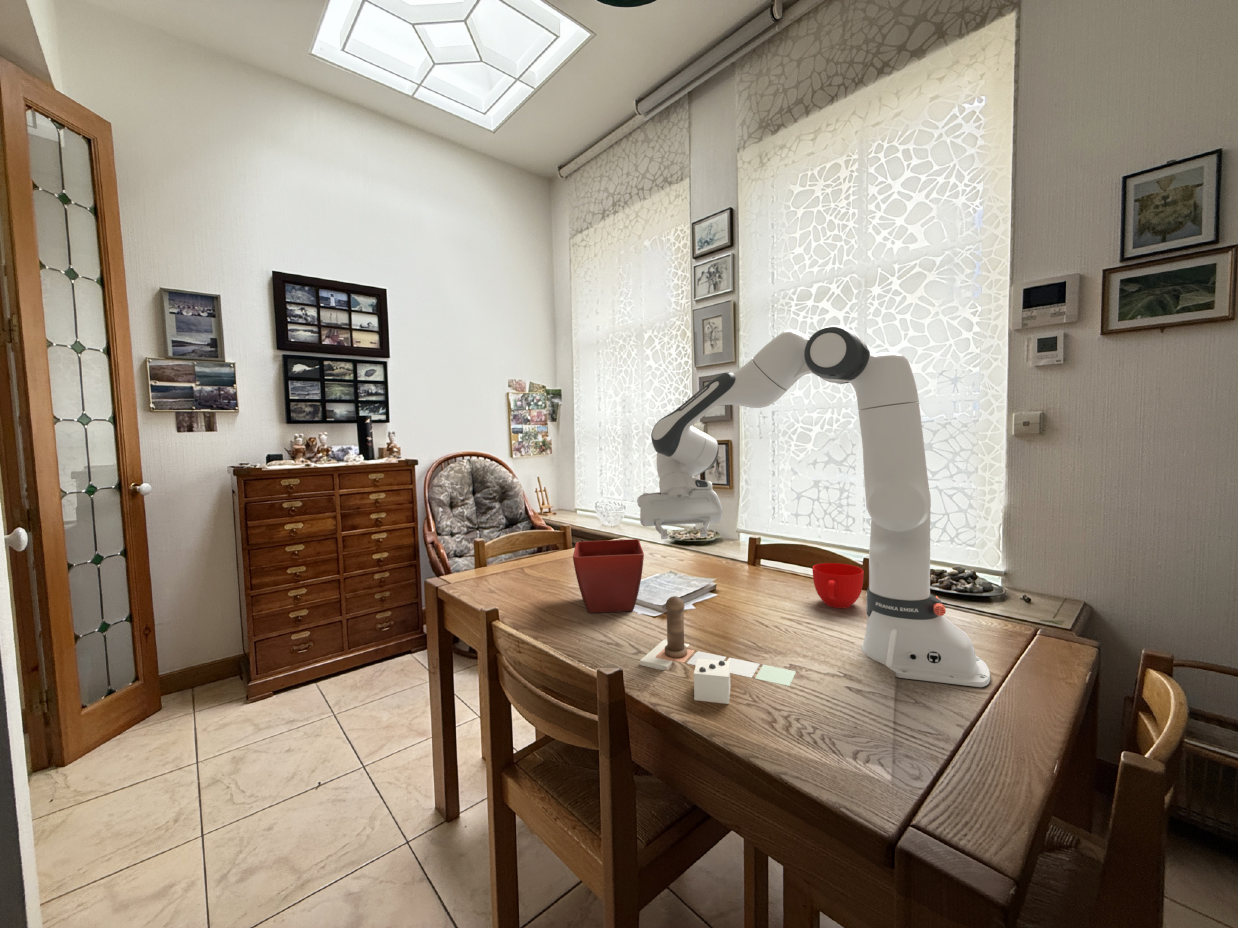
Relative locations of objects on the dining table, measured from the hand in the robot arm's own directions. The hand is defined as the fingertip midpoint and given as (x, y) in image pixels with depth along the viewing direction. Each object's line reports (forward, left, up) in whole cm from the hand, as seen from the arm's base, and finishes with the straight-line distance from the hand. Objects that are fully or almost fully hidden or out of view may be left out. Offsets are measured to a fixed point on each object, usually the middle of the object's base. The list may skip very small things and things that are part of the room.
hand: (684, 536), depth 117 cm
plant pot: (+28, -11, -24) cm, 38 cm away
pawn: (-3, +12, -23) cm, 26 cm away
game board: (-13, +12, -24) cm, 30 cm away
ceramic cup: (-29, -37, -24) cm, 53 cm away
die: (-15, +24, -24) cm, 37 cm away
